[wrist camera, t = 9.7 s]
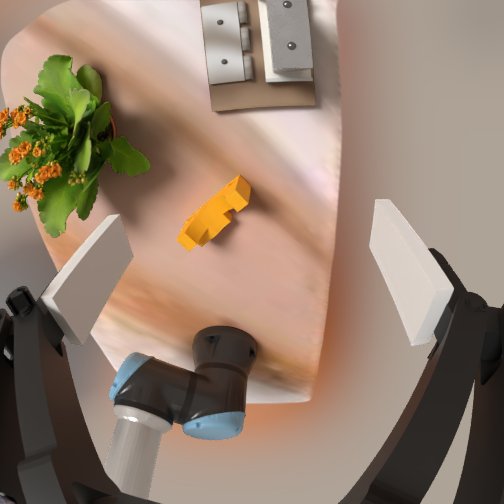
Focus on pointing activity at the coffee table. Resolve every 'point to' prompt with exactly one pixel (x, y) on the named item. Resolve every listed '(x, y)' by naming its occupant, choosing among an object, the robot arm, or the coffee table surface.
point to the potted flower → (64, 145)
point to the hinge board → (243, 60)
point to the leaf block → (289, 35)
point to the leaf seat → (269, 74)
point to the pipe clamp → (214, 214)
